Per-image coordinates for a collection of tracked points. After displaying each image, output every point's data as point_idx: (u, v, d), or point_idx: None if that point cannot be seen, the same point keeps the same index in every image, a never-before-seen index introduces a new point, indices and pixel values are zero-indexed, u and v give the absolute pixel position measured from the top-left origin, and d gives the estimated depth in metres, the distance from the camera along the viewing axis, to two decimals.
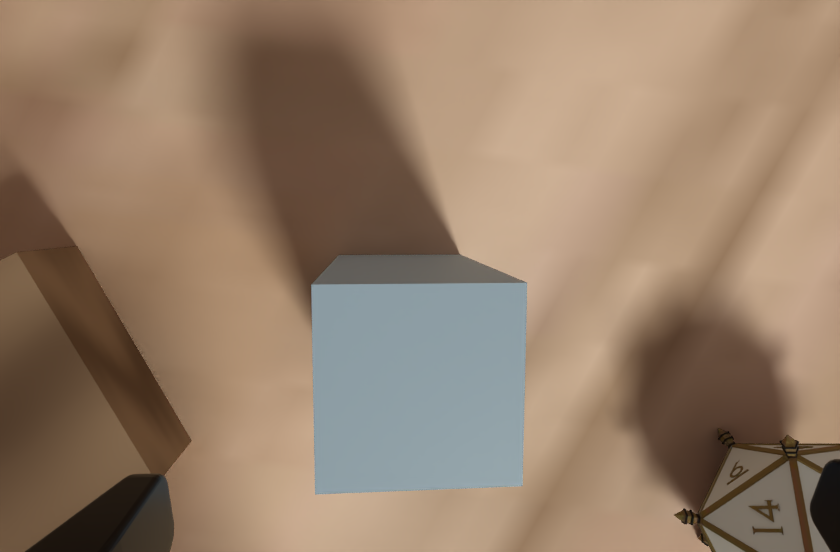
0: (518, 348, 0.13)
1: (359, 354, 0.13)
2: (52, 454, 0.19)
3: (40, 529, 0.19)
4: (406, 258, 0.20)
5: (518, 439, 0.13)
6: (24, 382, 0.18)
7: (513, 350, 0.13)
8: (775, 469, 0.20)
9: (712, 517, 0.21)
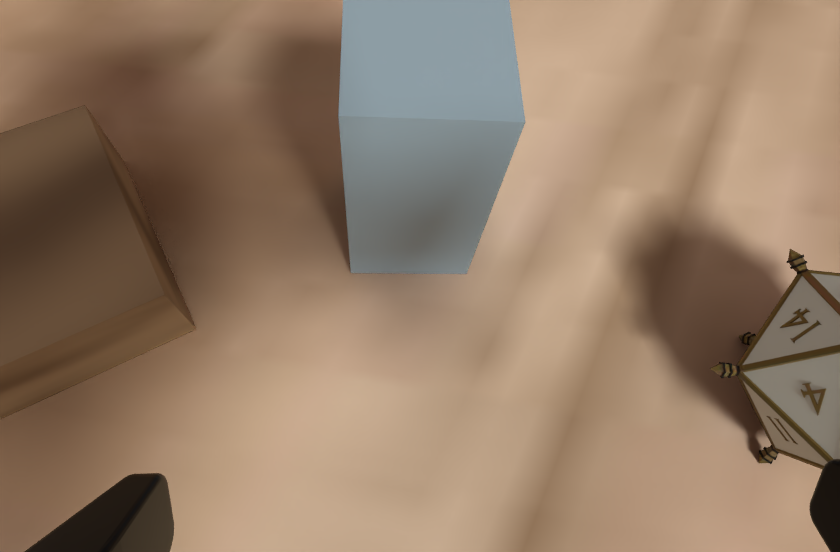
0: (507, 28, 0.16)
1: (379, 24, 0.16)
2: (66, 264, 0.19)
3: (30, 340, 0.18)
4: None
5: (516, 89, 0.15)
6: (59, 200, 0.20)
7: (503, 29, 0.16)
8: (793, 289, 0.20)
9: (750, 359, 0.19)
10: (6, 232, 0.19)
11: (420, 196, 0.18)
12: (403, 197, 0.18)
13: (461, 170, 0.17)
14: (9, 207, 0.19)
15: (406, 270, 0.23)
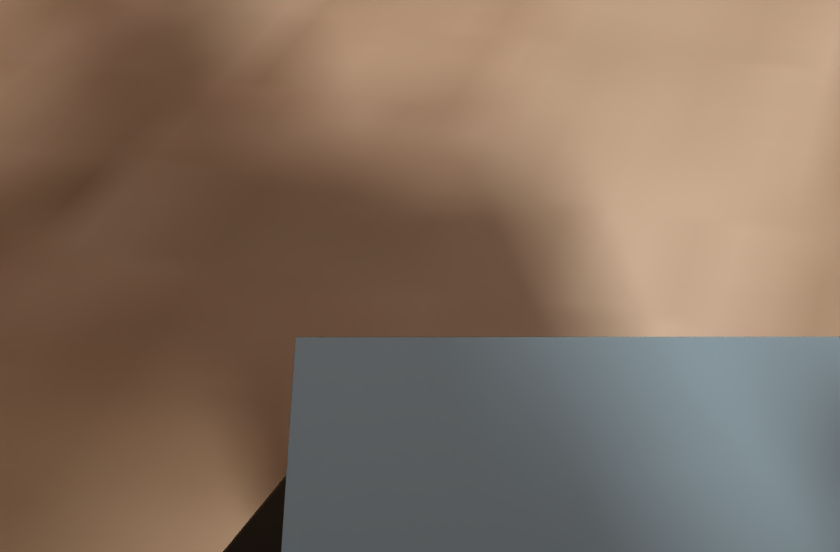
0: None
1: None
2: None
3: None
4: None
5: None
6: None
7: None
8: None
9: None
10: None
11: None
12: None
13: None
14: None
15: None
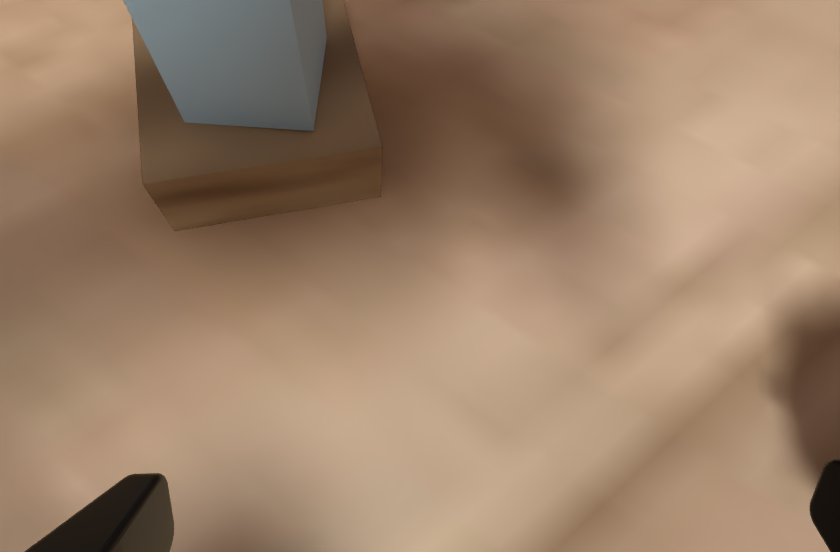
0: None
1: None
2: None
3: (273, 154, 0.21)
4: None
5: None
6: None
7: None
8: None
9: None
10: None
11: None
12: None
13: None
14: None
15: (244, 121, 0.21)
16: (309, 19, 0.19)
